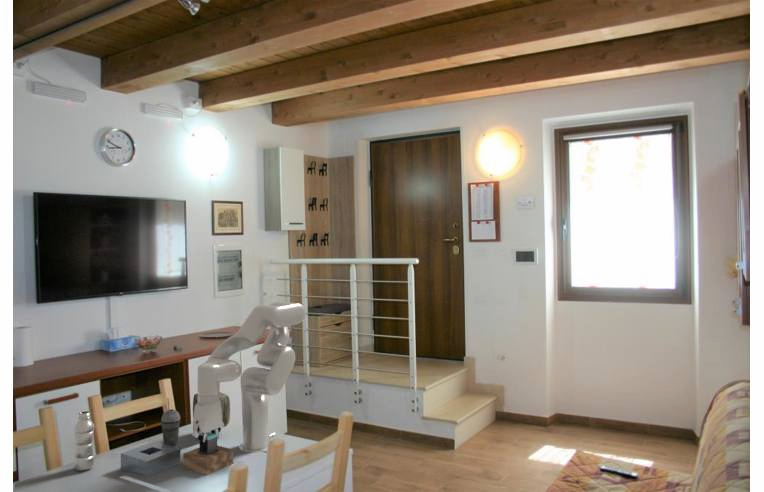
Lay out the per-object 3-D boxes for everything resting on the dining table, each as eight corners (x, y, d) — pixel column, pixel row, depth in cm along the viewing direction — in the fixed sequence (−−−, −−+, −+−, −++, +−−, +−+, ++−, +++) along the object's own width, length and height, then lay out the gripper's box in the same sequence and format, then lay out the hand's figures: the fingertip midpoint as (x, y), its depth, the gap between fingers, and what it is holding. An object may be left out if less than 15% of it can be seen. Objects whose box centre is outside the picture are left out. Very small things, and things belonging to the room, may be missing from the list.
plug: (208, 462, 203) (208, 432, 202) (216, 464, 201) (216, 434, 200) (200, 466, 199) (200, 435, 199) (208, 468, 197) (208, 437, 197)
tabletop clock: (192, 434, 235) (192, 374, 235) (211, 428, 242) (211, 371, 242) (212, 442, 226) (212, 380, 226) (231, 436, 233) (231, 376, 233)
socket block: (154, 457, 210) (154, 441, 210) (180, 465, 203) (180, 448, 203) (120, 470, 198) (120, 453, 198) (146, 478, 191) (146, 461, 191)
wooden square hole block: (209, 459, 208) (209, 443, 208) (233, 466, 202) (233, 449, 202) (183, 470, 198) (183, 453, 198) (207, 478, 192) (207, 460, 192)
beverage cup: (173, 454, 213) (174, 401, 213) (156, 452, 214) (156, 400, 214) (184, 447, 220) (184, 396, 220) (167, 446, 221) (167, 395, 221)
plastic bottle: (87, 464, 203) (87, 409, 203) (98, 468, 200) (98, 412, 199) (69, 470, 197) (69, 413, 197) (80, 474, 194) (80, 416, 194)
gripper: (218, 391, 209) (218, 440, 209) (182, 402, 194) (182, 455, 194) (233, 394, 205) (233, 444, 205) (197, 405, 191) (197, 459, 191)
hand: (208, 449), depth 200 cm, fingers closed on plug, 3 cm apart
